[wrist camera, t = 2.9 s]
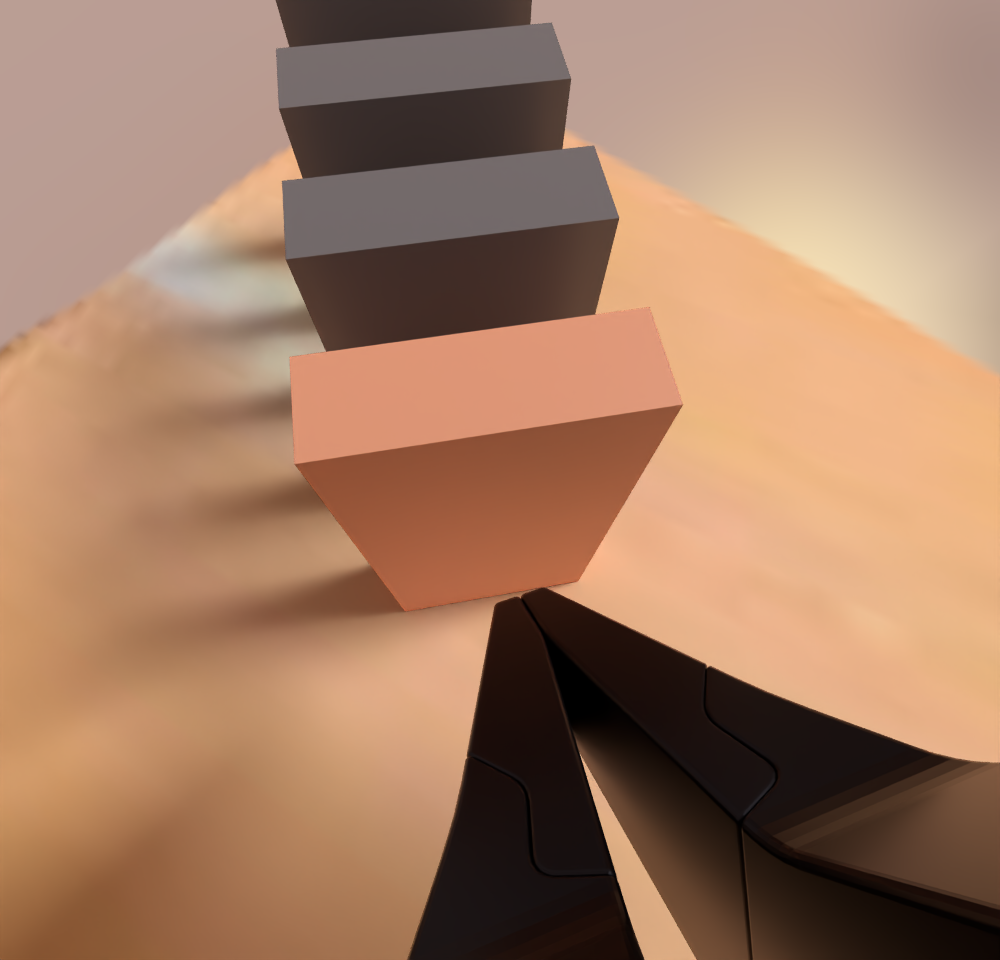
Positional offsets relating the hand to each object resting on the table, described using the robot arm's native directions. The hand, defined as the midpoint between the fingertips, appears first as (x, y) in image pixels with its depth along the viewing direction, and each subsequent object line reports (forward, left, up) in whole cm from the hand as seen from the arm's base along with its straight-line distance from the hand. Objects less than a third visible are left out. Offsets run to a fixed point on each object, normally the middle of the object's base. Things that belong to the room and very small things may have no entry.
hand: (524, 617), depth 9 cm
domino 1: (+3, 0, -7) cm, 8 cm away
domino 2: (+6, -1, -7) cm, 9 cm away
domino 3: (+9, -1, -7) cm, 12 cm away
